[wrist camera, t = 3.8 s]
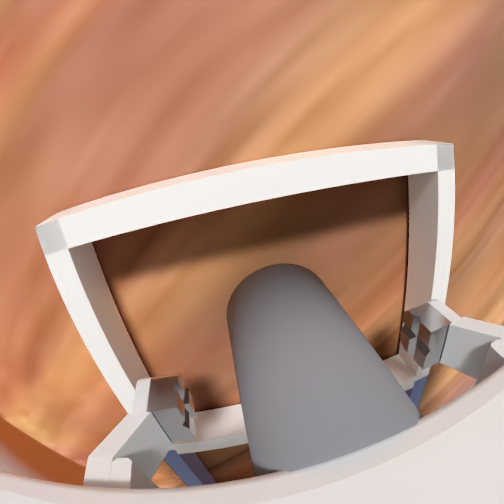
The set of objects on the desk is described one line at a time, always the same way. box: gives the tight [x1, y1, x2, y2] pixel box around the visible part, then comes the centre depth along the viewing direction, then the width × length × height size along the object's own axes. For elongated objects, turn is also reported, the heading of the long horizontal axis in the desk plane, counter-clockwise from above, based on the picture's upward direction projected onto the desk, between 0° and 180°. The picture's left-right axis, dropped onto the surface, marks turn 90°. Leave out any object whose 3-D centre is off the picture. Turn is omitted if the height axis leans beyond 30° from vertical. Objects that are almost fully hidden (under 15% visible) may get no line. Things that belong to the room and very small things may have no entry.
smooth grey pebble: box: [227, 264, 423, 477], centre depth 9 cm, size 4×4×8 cm
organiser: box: [35, 140, 455, 486], centre depth 13 cm, size 15×24×3 cm, turn 11°
